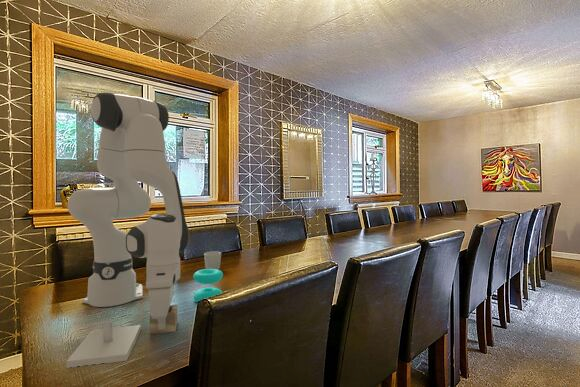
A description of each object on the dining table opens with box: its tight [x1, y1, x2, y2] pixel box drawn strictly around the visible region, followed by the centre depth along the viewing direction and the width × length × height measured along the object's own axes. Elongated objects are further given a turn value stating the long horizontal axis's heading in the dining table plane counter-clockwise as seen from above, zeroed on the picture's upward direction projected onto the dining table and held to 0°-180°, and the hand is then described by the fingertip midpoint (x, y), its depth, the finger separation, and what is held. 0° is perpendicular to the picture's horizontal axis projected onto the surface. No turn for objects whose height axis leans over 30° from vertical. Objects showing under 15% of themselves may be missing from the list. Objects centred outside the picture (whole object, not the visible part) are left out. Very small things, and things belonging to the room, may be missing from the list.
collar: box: [149, 304, 178, 335], centre depth 90 cm, size 6×6×5 cm
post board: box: [65, 320, 142, 369], centre depth 79 cm, size 16×12×6 cm
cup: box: [203, 250, 222, 270], centre depth 154 cm, size 11×8×8 cm
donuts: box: [192, 268, 224, 303], centre depth 112 cm, size 10×10×10 cm
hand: (164, 322), depth 90 cm, fingers closed on collar, 6 cm apart
